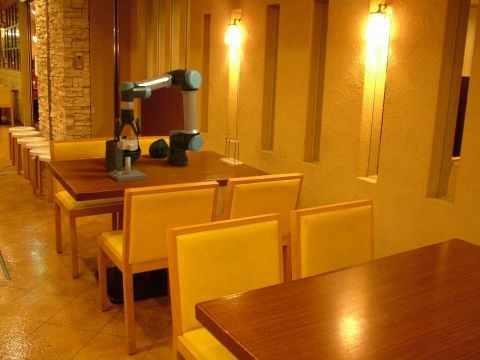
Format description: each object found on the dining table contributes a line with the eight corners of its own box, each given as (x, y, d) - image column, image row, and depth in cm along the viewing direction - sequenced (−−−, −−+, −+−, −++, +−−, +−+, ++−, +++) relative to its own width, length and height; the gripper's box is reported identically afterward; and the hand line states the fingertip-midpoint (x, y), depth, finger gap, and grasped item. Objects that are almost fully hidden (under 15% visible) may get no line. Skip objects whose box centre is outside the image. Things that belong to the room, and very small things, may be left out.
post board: (136, 173, 312) (136, 154, 309) (147, 178, 299) (147, 158, 297) (108, 175, 302) (108, 156, 299) (118, 181, 289) (118, 161, 287)
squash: (144, 148, 369) (150, 135, 358) (162, 148, 377) (169, 135, 367) (150, 163, 362) (157, 150, 352) (168, 162, 371) (175, 150, 361)
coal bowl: (135, 168, 325) (135, 140, 321) (106, 166, 327) (106, 138, 323) (145, 162, 344) (145, 135, 340) (117, 160, 347) (117, 134, 342)
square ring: (117, 147, 298) (117, 139, 297) (131, 146, 303) (131, 138, 302) (125, 150, 287) (125, 142, 286) (140, 150, 292) (140, 141, 291)
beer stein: (117, 173, 307) (118, 141, 304) (101, 172, 309) (102, 140, 306) (128, 170, 322) (128, 140, 319) (112, 169, 324) (113, 138, 321)
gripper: (111, 109, 282) (112, 148, 287) (147, 109, 294) (147, 146, 299) (107, 108, 288) (107, 146, 293) (142, 107, 300) (142, 144, 305)
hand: (127, 146), depth 296 cm, fingers closed on square ring, 9 cm apart
